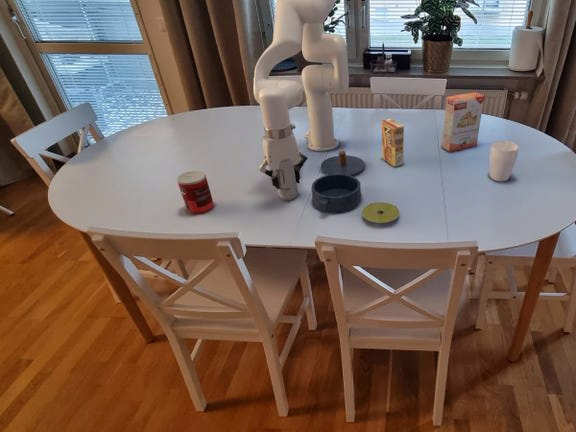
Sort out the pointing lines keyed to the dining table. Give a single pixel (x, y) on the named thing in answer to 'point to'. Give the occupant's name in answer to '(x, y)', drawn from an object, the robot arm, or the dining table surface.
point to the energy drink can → (287, 180)
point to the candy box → (392, 142)
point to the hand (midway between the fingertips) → (286, 184)
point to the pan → (336, 193)
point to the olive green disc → (380, 212)
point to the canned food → (195, 192)
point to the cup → (502, 159)
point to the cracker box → (462, 121)
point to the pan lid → (342, 164)
